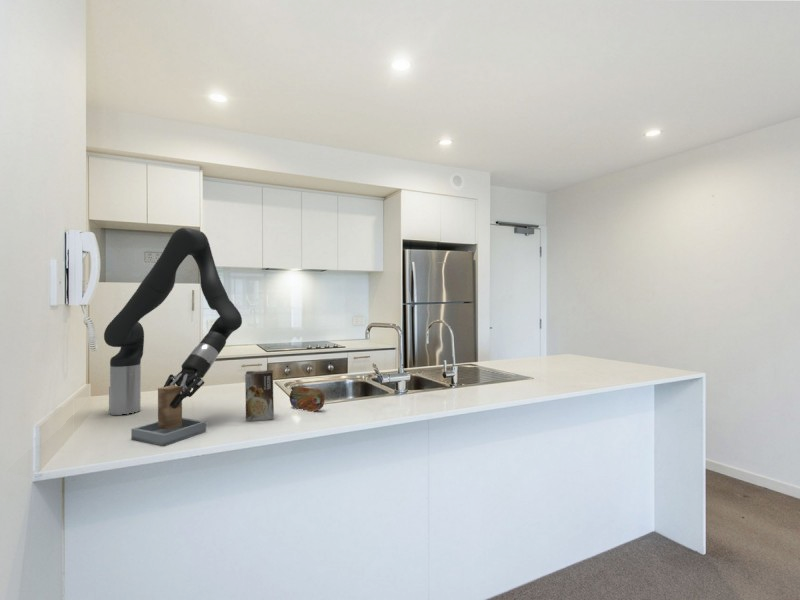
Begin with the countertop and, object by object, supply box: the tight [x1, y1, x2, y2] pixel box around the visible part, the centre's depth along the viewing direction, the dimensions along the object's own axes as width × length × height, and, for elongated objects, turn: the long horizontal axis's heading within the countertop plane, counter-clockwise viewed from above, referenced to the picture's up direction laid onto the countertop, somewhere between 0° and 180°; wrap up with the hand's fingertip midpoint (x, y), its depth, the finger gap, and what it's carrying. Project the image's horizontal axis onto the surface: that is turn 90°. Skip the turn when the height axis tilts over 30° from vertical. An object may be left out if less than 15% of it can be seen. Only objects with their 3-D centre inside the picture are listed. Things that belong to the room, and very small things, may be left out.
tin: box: [289, 386, 325, 412], centre depth 153 cm, size 15×3×8 cm, turn 62°
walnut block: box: [157, 385, 183, 430], centre depth 124 cm, size 4×4×12 cm
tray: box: [130, 417, 207, 447], centre depth 124 cm, size 14×14×3 cm
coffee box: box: [244, 369, 275, 422], centre depth 142 cm, size 9×6×16 cm
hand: (166, 406), depth 123 cm, fingers closed on walnut block, 4 cm apart
